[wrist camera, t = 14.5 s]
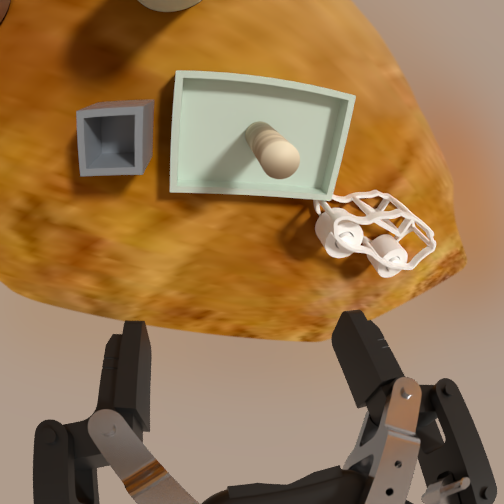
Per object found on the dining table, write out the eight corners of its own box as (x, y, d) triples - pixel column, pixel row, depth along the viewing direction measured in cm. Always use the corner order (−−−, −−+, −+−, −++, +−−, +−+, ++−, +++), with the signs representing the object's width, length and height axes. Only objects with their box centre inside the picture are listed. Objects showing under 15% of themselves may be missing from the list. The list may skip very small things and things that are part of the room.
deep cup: (97, 102, 27) (76, 111, 22) (154, 99, 28) (143, 106, 23) (98, 157, 31) (80, 176, 26) (152, 156, 32) (142, 174, 27)
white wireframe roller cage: (295, 224, 41) (311, 254, 35) (336, 159, 36) (362, 179, 30) (382, 263, 49) (402, 289, 43) (418, 214, 44) (443, 238, 38)
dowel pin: (247, 120, 31) (264, 140, 23) (275, 123, 31) (303, 144, 23) (243, 147, 33) (258, 177, 25) (271, 150, 33) (296, 180, 25)
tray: (178, 70, 27) (176, 70, 24) (344, 92, 31) (355, 95, 28) (172, 182, 35) (169, 192, 32) (322, 191, 39) (330, 201, 36)
